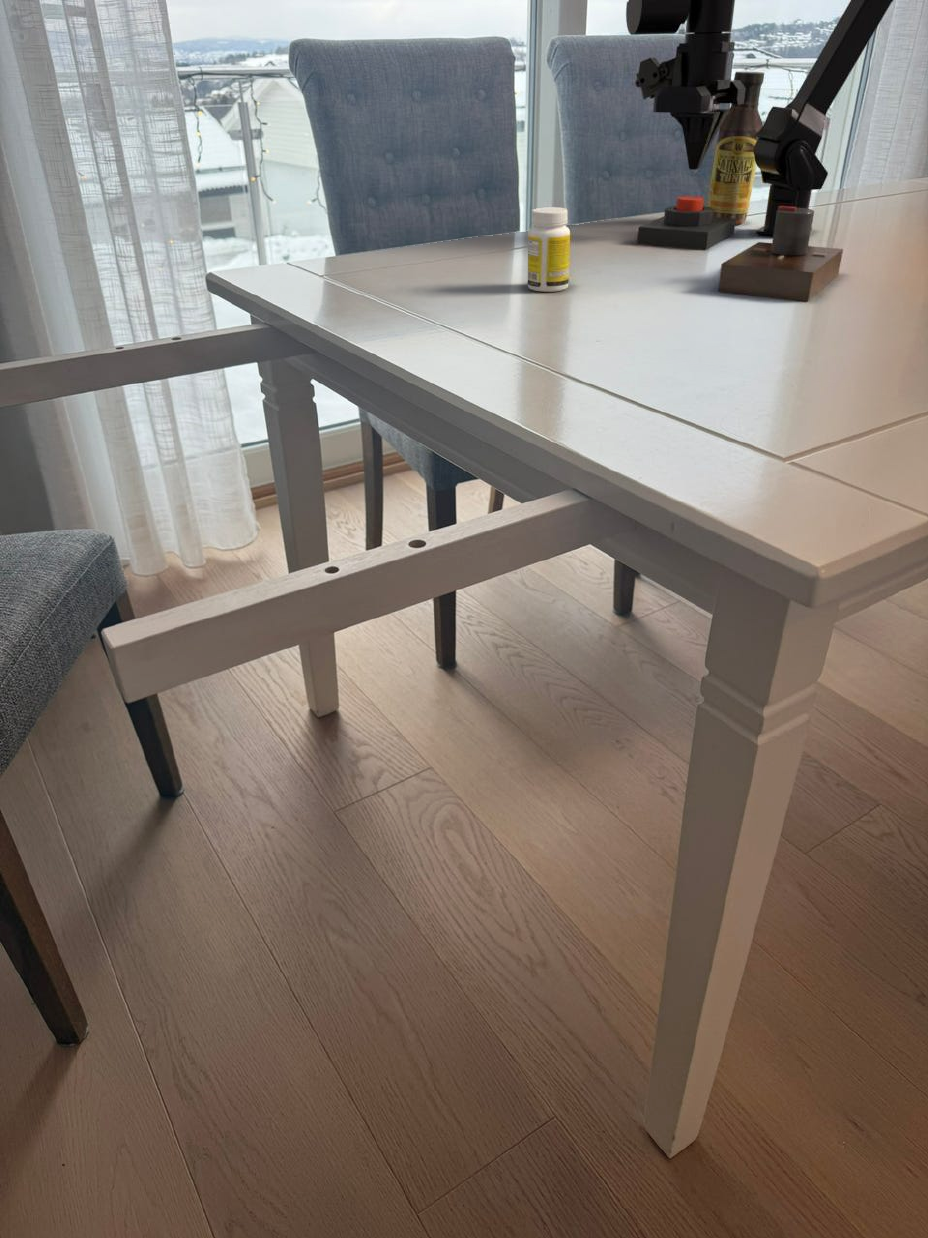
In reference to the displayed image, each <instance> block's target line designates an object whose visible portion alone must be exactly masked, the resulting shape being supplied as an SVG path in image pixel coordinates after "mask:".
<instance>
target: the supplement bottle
mask: <svg viewBox="0 0 928 1238" xmlns="http://www.w3.org/2000/svg"><path fill="white" fill-rule="evenodd" d="M567 224H568V209H567V208H565V207H560V206H559V207H558V206H546V207H545V206H544V207H537V208H534V209H532V210H531V225H533V226H532V227H530V228H529V230H528V233H527V287H528V289H529V290H531V291H534V292H543V293H552V292H561V291H564V290H566V289H567V288H568V287H569V281H570V280H569V279H570V278H569V277H570V256H571V255H570V252H571V251H570V250H571V230H570V228H569V227H567V226H566V225H567Z"/></svg>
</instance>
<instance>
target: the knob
mask: <svg viewBox="0 0 928 1238" xmlns="http://www.w3.org/2000/svg"><path fill="white" fill-rule="evenodd" d="M814 216H815V210H814V209H811V208H809V209H807V208H796V207H787V206H779V207H778V210H777V215H776V222H775V228H774V235H772V242H771V243H772V248H771V252H772V253H774V254H777V255H784V256H799V255H804V254H807V250H808V246H810V240H811V239H810V238H811V233H812V231H811V228H812V229H813V221H814Z"/></svg>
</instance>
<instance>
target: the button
mask: <svg viewBox="0 0 928 1238" xmlns="http://www.w3.org/2000/svg"><path fill="white" fill-rule="evenodd" d="M704 202H705V201H704V197H703V196H698V195H697V196H696V195H684V196H678V197H677V198H676V205H675V206H676V210H679V211H701V210H703V206H704Z"/></svg>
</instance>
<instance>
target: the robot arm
mask: <svg viewBox="0 0 928 1238" xmlns="http://www.w3.org/2000/svg"><path fill="white" fill-rule="evenodd" d="M893 2H894V0H850V1H849V2H848V4H847V6H846V8H845V10H844V11H843V13H842V15H841V16H840V18H839V20H838V22H837V24H836V25H835V27H834V29H833V30H832V32H831V34H830V35H829V38H828V39H827V41H826V43H825V45H824V46H823V48H822V50H821V51H820V53H819V54H818V57H817V58H816V61H814V63H813V65H812V67H811V69H810V71H809V72H808V74H807V76H806V78H805V79H804V81H803V83H802V85H801V86H800V88H799V90H798V91H797V93H796V95H795V97H794V98H793V99H792V100H791V102H789V103H788V104H787V105H786V106H785V107H782V106H772V107H771V109H770V110H769V111H768V114H767V116H766V119H765V121H764V122H763V124H762V128H761V129H760V130H759V131H758V132H757V133H756V134H755V137H759V138H758V139H757V141H756V144H755V146H754V150H753V153H754V158H755V162H756V164H757V165H756V168H758V169H759V171H760V176H761V181H762V183H763V184H768V185H769V190H768V191H769V192H768V198H767V204H766V209H765V218H764V224H763V226H762V227H759V228H758V229H756V230H755V235H763V236H773V235H774V228H775V222H776V215H777V210H778V207H779V206H787V207H796V208H807V209H810V204H811V198H812V191H815V190H821V189H822V188H823V186H824V184H825V182H826V180H827V178H828V177H829V176H828V175H829V172H828V170H827V169H826V168H825V166H824V165H823V164H822V161H820V159H819V158H818V156H817V155H816V153H817V152H818V151H817V150H818V148H819V146H820V143H821V142H822V139H823V134H824V126H825V121H826V116H827V113H828V111H829V109H830V108H831V106H832V104H833V102H834V101H835V99H836V98H837V96H838V94H839V92H840V91H841V90H842V87H843V86H844V84H845V82H846V81H847V80H848V78H849V76H850V74H851V72H852V70H853V69H854V68H855V65H856V64H857V62H858V60H860V59H859V58H860V57H861V55H862V54H863V52H864V51H865V49H866V48H867V45H868V44H869V42H870V41H871V38H872V37H873V36H874V33H875V32H876V31H877V28H878V27H879V25H880V23H881V21H882V20H883V18H884V16H885V15H886V13H887V11H888V10H889V8H890V6H891V5H892V3H893ZM735 4H736V0H628V1H626V6H625V20H626V21H625V23H626V27H627V31H628V33H629V35H631V36H640V35H641V36H643V35H645V36H646V35H674V34H676V33H677V32H678V31H679V29H680V27H681V26H682V25H685V33H684V42H679V43H678V45H677V46H676V50H675V57H673V58H671V59H669V60H665V61H662V62H661V63H660V61H658V59H657V58H656V57H648V58H646V59H644V60H642V61H640V62H639V67H638V72H637V73H636V74H635V75H636V80H635V87H637V88H640V91H641V97H642V100H647V98H648V99H653V111H652V113H659V114H660V113H663V114H667V113H668V114H670V117H672V118H674V119H675V120H676V122H678V123H679V125H680V126H681V129H682V132H683V139H684V145H685V151H686V157H687V165H688V169H689V170H694V171H696V170H699V169H700V167H701V165H702V163H703V161H704V159H705V158H706V155H707V153H708V151H709V149H710V147H711V145H712V143H713V141H714V139H715V138H716V135H717V133H719V130H720V126H721V124H722V122H723V121H724V119H725V117H726V115H727V114H728V113H729V109H727V108H725V109H723V108H721V109H720V106H721V104H731V103H733V104H734V105H739V104H744V97H745V89H746V88H745V87H744V85H743V84H742V82H741V81H740V80H734V79H731V78H727V73H728V72H727V71H728V63H729V55H730V52H734V51H735V46H736V45H735V44H736V43H735V41H731V37H732V31H733V20H734V12H735ZM812 230H813V227H812V228H811V232H812Z"/></svg>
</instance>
